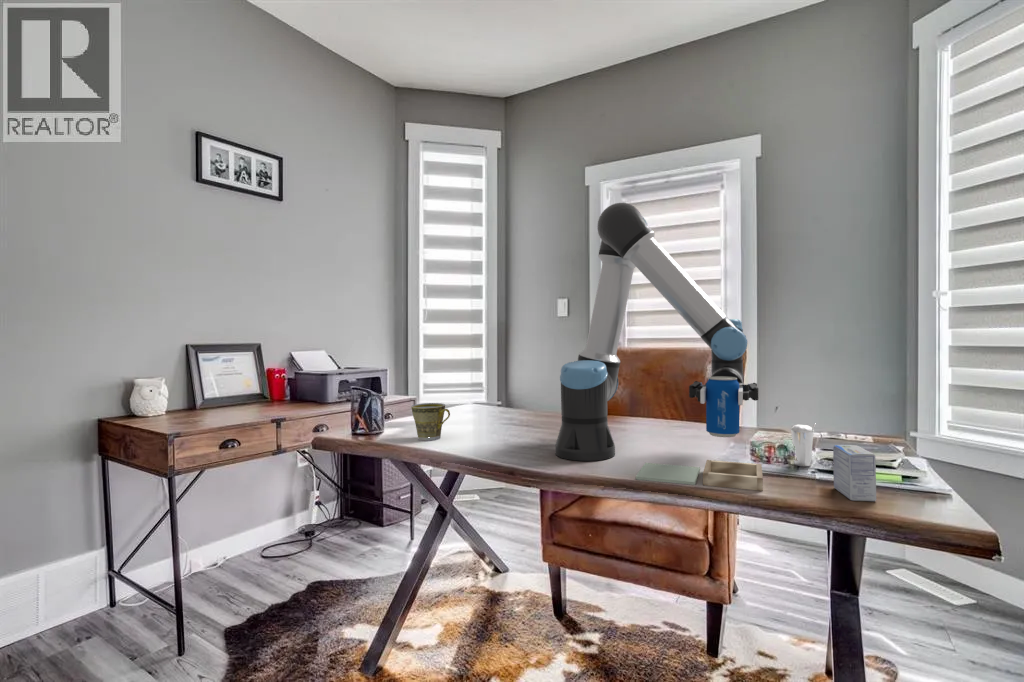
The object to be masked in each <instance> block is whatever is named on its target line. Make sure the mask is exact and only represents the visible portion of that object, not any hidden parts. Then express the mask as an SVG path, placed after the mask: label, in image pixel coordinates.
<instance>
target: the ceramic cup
mask: <svg viewBox="0 0 1024 682" xmlns="http://www.w3.org/2000/svg"><path fill="white" fill-rule="evenodd" d="M445 412H446V413H447V415H448V416H447V417H446V418H445V419H444V416H445ZM411 413H412V417H413V419H414V423H415V428H416V433H417V435H416V436H417V439H418V440H419V441H422V442H423V441H424V442H430V441H431V442H432V441H437V440H440V439H441V437H442V430H443V429H442V427H443V424H445V422H446V421H447V420H449V419H450V417H451V413H450V410H449V409H448V408H446V404H445V403H442V402H441V403H439V402H426V403H416V404H413V405H411ZM428 437H430V438H428Z"/></svg>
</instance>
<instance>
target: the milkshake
mask: <svg viewBox="0 0 1024 682" xmlns="http://www.w3.org/2000/svg"><path fill="white" fill-rule="evenodd" d="M816 424H817V423H816V422H814V424H813V427H812V426H811V425H810V426H809V425H808V424H794V425H793V426H792V427H791V428H790V433H791V441H792V445H793V444H794V446H795V448H796V456H797V460H798V461H795V460H794V459H793V463H794V465H795V466H799V467H811V466H812V454H813V442H814V433H815V430H814V428H815V426H816Z"/></svg>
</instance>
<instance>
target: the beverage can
mask: <svg viewBox="0 0 1024 682" xmlns="http://www.w3.org/2000/svg"><path fill="white" fill-rule="evenodd" d="M707 379H708V380H707V381H706V383H705V384H706V402H705V403H706V404H705V415H706V416H705V420H706V421H705V422H706V424H705V425H706V426H705V427H706V428H705V430H706V432H707V433H709V435H710V436H712V437H717V438H734V437H736V435H738V434H739V433H740V405H738V391H739V383H738V381H737V378H736V377H725V376H715V377H711V376H709V377H708V378H707Z"/></svg>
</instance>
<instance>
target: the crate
mask: <svg viewBox="0 0 1024 682" xmlns="http://www.w3.org/2000/svg"><path fill="white" fill-rule="evenodd" d="M763 477H764V476H763V466H762V463H750V462H739V461H725V460H712V459H706V462H705V465H704V468H703V472H702V486H708V487H718V488H719V487H720V488H729V489H739V490H750V491H758V492H759V491H760V492H763V490H764V487H763V486H764V483H763V482H764V480H763V479H764V478H763Z"/></svg>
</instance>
